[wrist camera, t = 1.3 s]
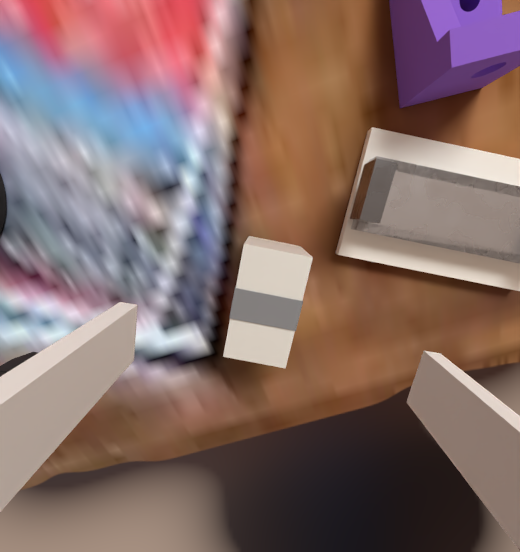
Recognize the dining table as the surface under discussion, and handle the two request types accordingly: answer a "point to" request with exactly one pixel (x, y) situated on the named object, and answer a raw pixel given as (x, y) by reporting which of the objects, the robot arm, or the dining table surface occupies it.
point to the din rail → (438, 209)
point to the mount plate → (422, 254)
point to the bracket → (451, 46)
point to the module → (267, 301)
